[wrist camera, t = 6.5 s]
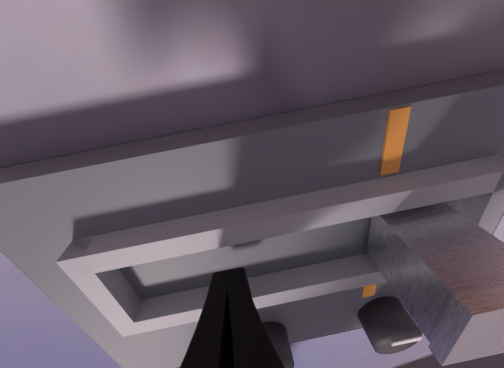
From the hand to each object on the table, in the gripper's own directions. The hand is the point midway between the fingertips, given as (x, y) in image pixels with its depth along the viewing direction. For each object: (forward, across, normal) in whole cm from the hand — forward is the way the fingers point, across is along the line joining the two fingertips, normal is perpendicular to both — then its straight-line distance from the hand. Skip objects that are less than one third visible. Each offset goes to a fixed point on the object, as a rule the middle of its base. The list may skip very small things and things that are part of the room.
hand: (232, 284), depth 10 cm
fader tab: (+1, -8, 0) cm, 9 cm away
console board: (+4, -3, +2) cm, 5 cm away
